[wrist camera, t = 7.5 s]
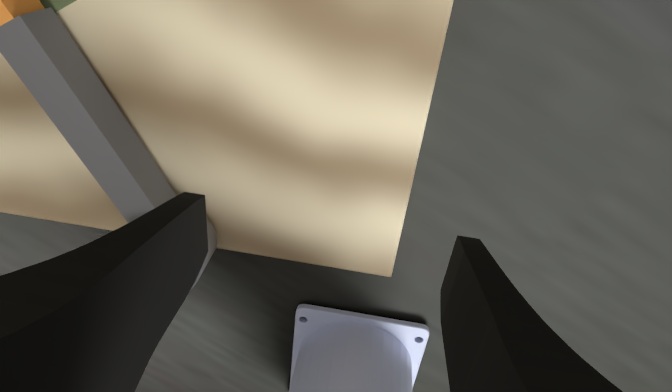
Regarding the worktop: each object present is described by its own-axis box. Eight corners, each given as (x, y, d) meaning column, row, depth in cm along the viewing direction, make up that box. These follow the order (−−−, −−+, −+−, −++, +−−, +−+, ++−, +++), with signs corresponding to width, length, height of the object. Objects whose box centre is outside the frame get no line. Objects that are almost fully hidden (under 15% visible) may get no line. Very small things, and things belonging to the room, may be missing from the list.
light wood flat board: (391, 262, 25) (390, 279, 24) (-8, 196, 26) (-28, 209, 25) (458, -40, 17) (462, -37, 16) (-118, -114, 18) (-154, -116, 17)
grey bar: (230, 251, 24) (212, 286, 22) (175, 266, 25) (152, 301, 23) (42, -41, 17) (-13, -35, 15) (-22, -4, 19) (-81, 8, 16)
